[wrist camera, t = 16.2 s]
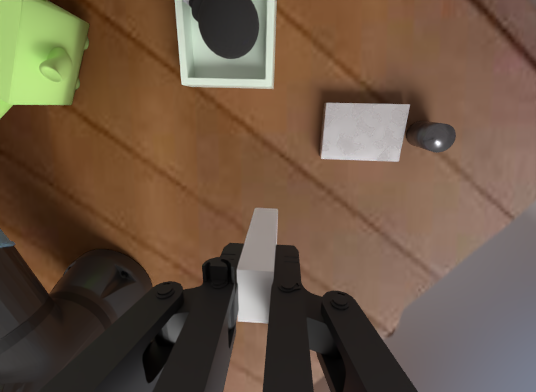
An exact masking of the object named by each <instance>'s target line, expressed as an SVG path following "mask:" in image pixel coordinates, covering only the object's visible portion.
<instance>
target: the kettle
mask: <svg viewBox="0 0 536 392" xmlns="http://www.w3.org/2000/svg"><path fill="white" fill-rule="evenodd" d="M89 25H90V24H89V23H87V22H86V21H84V20H82V19H80V18H78V17H77V16H75V15H73V14H71V13H70V12H68V11H66V10H64V9H62V8H61V7H59V6H57V5H55V4H54V3H52V2H50V1H48V0H0V119H1V117H2V116H3V115H4V114H5V113H6V112H7V111H8V110H9V109H10V108H11V107H12V106H13V105H72V103H73V98H74V94H75V90H76V89H78V88H79V85H80V81H79V78H78V76H79V71H80V67H81V62H82V57H83V53H84V50H85V49H87V48H88V45H89V40H88V37H87V34H88V30H89Z"/></svg>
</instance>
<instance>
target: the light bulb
mask: <svg viewBox="0 0 536 392" xmlns="http://www.w3.org/2000/svg"><path fill="white" fill-rule="evenodd" d="M183 1H184V2H185V3H186V4H188V5H189V6H190V7H191V8H192V16H193V18H194V19H195V20H196V21H197V22H198V26H199V30H200V34H201V36H202V39H203V41H204V42H205V44H206V45H207V47H208V48H209V49H210V50H211V51H212V52H214V53H215V54H216V55H218V56H220V57H222V58H226V59H236V58H240V57H242V56H244V55H246V54H247V53H248V52H249V51H250V50H251V49H252V48H253V46H254V45H255V43H256V40H257V37H258V33H259V18H258V13H257V10H256V8H255V6H254V4H253V2H252V1H251V0H183Z"/></svg>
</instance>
